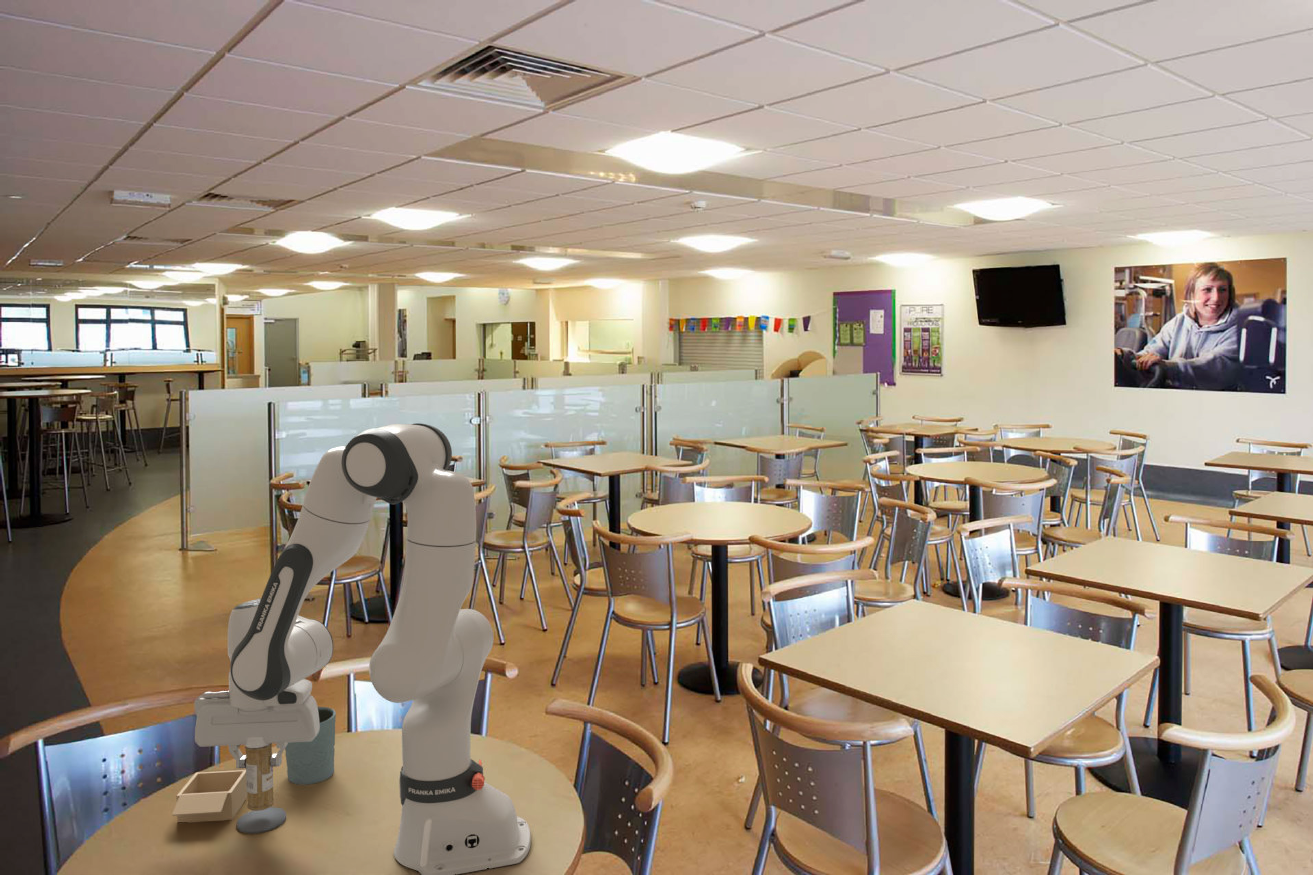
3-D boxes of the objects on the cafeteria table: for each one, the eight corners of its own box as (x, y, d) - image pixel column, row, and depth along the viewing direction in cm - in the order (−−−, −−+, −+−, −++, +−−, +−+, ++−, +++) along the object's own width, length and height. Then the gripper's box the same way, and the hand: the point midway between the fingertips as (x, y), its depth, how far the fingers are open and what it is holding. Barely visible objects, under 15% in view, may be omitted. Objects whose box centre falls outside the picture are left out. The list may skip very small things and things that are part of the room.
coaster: (291, 808, 162) (291, 805, 162) (279, 831, 154) (278, 828, 154) (245, 811, 161) (245, 808, 161) (230, 834, 153) (230, 831, 153)
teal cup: (305, 790, 169) (304, 729, 168) (271, 778, 174) (269, 719, 173) (348, 770, 178) (347, 711, 177) (314, 758, 183) (312, 702, 182)
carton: (254, 785, 171) (253, 760, 171) (225, 830, 155) (224, 801, 154) (204, 788, 170) (203, 762, 170) (169, 833, 154) (167, 805, 153)
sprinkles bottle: (276, 807, 157) (274, 733, 156) (248, 814, 155) (246, 739, 153) (271, 796, 161) (269, 724, 160) (244, 803, 158) (241, 730, 157)
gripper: (187, 699, 151) (189, 777, 152) (312, 694, 154) (314, 771, 155) (200, 686, 158) (203, 761, 159) (320, 681, 160) (322, 755, 162)
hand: (259, 766), depth 157 cm, fingers closed on sprinkles bottle, 4 cm apart
